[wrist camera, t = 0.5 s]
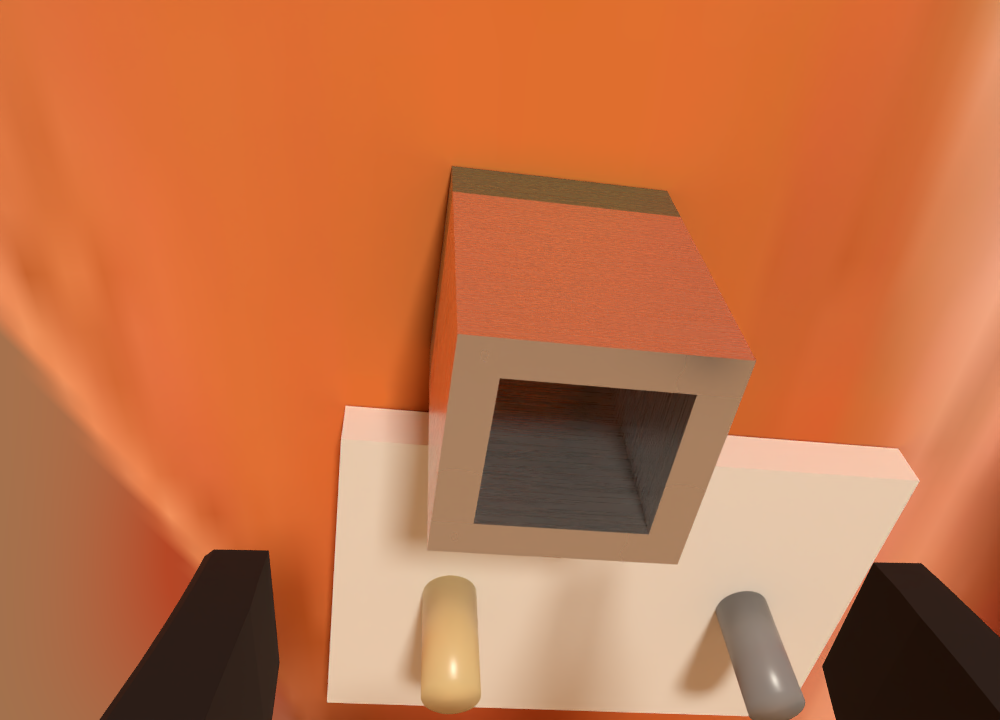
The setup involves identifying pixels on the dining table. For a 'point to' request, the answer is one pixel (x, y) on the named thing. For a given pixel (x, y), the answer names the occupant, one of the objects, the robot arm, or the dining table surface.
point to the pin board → (605, 588)
